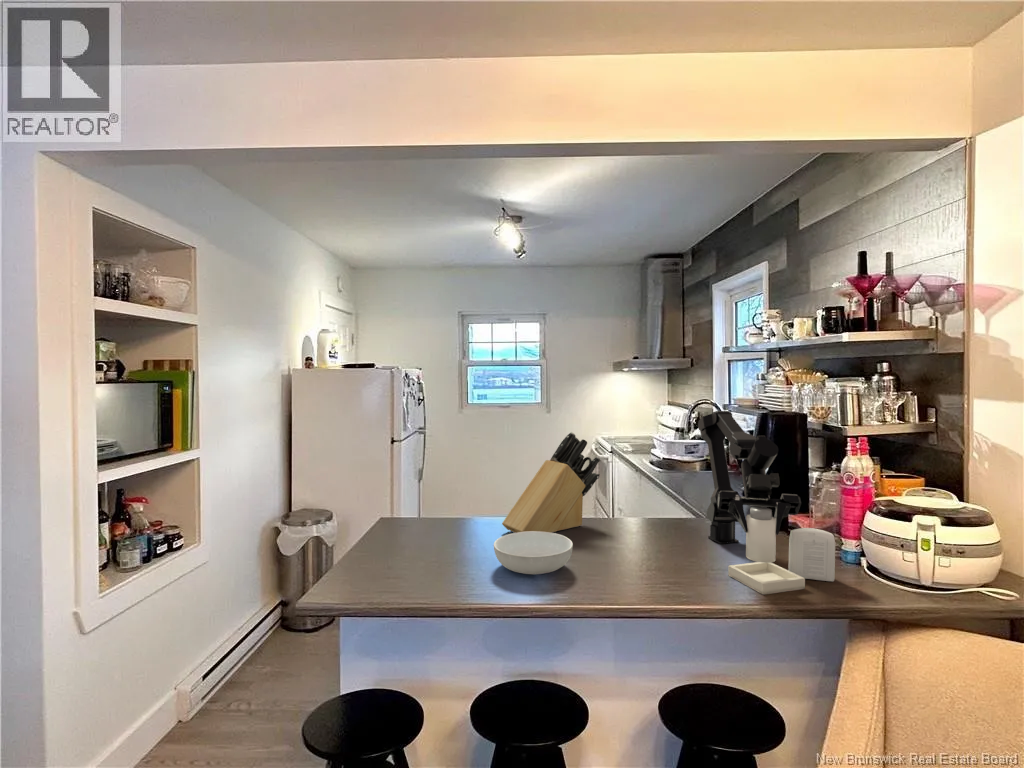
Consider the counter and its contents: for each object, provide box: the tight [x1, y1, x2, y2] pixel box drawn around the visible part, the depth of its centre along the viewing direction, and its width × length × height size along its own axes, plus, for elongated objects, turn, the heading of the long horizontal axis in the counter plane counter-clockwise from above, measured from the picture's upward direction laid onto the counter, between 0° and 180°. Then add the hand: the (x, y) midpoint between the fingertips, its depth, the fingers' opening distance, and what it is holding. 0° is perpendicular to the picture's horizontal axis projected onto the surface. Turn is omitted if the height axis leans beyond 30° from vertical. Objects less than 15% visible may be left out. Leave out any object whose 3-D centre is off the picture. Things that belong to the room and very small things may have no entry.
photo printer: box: [787, 527, 836, 583], centre depth 132 cm, size 10×4×12 cm, turn 72°
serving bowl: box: [493, 531, 574, 575], centre depth 139 cm, size 21×21×7 cm
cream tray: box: [727, 561, 806, 595], centre depth 129 cm, size 12×12×2 cm
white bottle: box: [745, 506, 777, 563], centre depth 129 cm, size 7×7×12 cm
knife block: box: [501, 431, 601, 533], centre depth 175 cm, size 11×35×31 cm, turn 127°
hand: (761, 532), depth 128 cm, fingers closed on white bottle, 7 cm apart
